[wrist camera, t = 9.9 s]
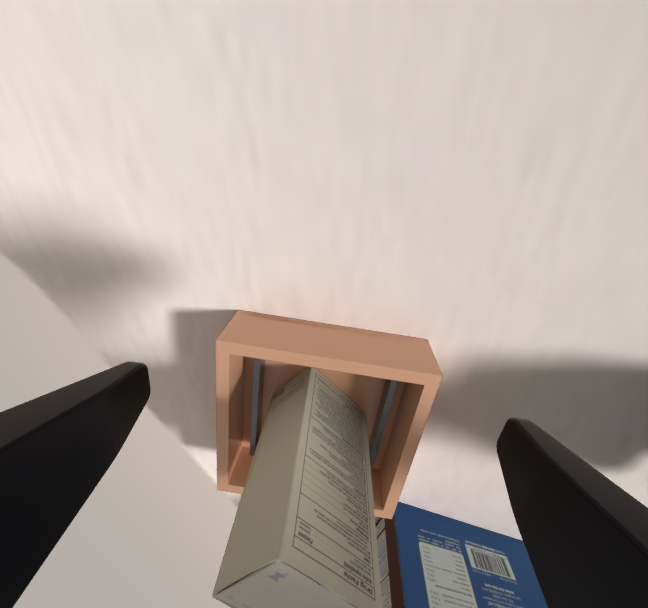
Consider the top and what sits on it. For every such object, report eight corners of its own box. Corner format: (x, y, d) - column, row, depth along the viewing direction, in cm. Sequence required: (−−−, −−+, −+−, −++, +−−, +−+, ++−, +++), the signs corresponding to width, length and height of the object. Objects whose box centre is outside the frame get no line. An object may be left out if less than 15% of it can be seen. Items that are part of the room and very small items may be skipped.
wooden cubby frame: (427, 339, 22) (442, 376, 18) (386, 471, 27) (391, 519, 24) (238, 310, 22) (215, 339, 18) (235, 446, 27) (217, 489, 24)
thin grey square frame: (396, 362, 22) (399, 376, 21) (369, 458, 26) (370, 475, 25) (260, 341, 22) (254, 353, 21) (255, 439, 26) (249, 455, 25)
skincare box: (271, 394, 24) (201, 594, 13) (313, 361, 23) (274, 557, 11) (329, 442, 26) (311, 658, 15) (372, 414, 24) (388, 632, 13)
